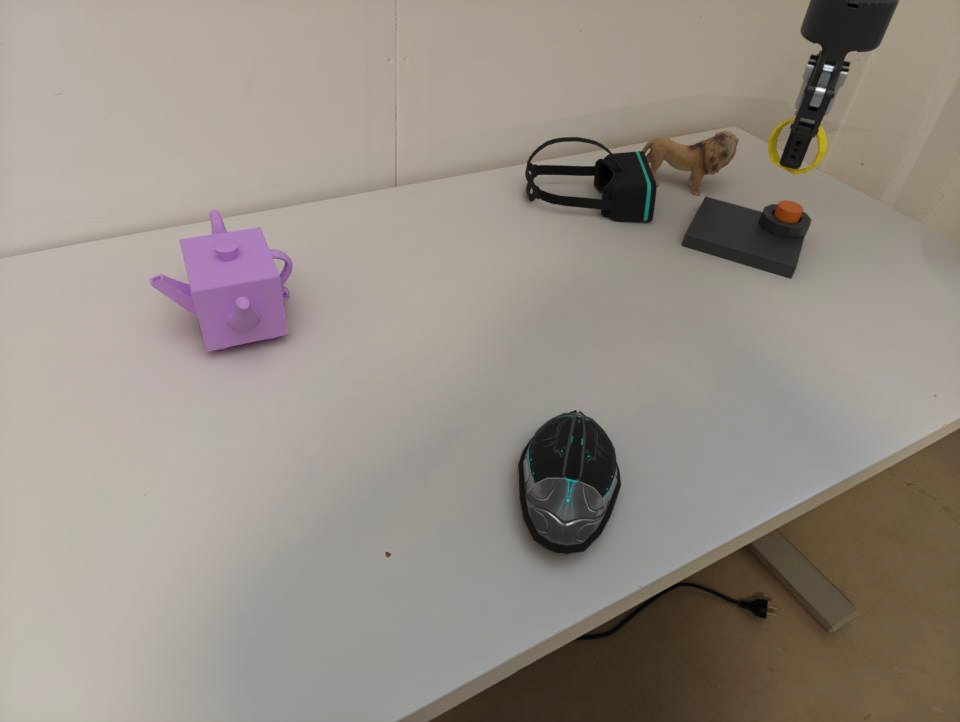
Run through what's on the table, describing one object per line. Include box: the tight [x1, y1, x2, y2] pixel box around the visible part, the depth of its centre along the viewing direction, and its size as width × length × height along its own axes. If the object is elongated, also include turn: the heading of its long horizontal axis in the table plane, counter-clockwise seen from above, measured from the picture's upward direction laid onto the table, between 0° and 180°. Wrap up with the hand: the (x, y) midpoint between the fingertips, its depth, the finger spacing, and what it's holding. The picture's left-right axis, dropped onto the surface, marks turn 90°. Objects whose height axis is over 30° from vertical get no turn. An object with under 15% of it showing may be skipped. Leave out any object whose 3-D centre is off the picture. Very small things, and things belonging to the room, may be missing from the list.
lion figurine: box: [641, 130, 740, 197], centre depth 100 cm, size 15×5×9 cm, turn 79°
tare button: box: [774, 199, 804, 223], centre depth 90 cm, size 3×3×2 cm
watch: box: [767, 115, 828, 176], centre depth 75 cm, size 6×3×6 cm, turn 41°
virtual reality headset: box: [524, 136, 658, 222], centre depth 94 cm, size 11×17×10 cm, turn 89°
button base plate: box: [681, 196, 812, 280], centre depth 91 cm, size 14×13×4 cm
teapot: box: [149, 209, 293, 352], centre depth 68 cm, size 18×13×10 cm
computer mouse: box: [517, 409, 622, 555], centre depth 57 cm, size 9×17×6 cm, turn 168°
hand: (791, 160), depth 76 cm, fingers closed on watch, 2 cm apart
